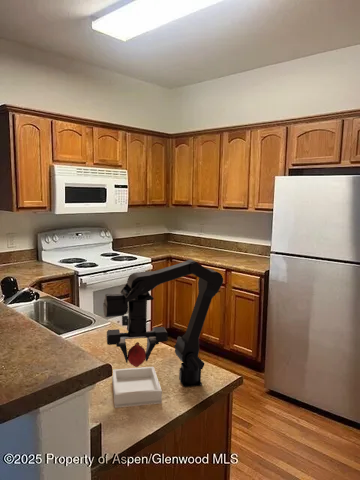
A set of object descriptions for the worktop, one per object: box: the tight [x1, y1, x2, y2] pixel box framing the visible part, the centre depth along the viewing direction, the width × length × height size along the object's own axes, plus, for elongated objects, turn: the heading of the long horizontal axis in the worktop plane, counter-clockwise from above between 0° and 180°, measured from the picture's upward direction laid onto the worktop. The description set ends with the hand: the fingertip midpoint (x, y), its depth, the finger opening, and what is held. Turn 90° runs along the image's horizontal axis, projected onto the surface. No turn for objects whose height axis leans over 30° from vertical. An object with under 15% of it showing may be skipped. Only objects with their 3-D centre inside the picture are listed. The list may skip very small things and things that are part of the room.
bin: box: [111, 366, 163, 409], centre depth 116 cm, size 14×16×4 cm
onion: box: [127, 341, 146, 368], centre depth 115 cm, size 6×6×8 cm
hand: (136, 361), depth 116 cm, fingers closed on onion, 6 cm apart
